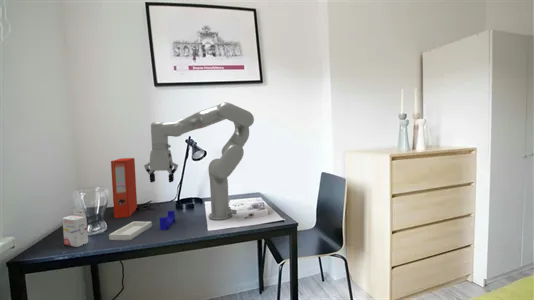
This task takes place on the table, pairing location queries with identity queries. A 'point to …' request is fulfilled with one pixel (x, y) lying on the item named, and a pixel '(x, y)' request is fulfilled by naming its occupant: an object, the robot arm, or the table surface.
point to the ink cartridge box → (75, 228)
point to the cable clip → (167, 220)
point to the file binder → (124, 187)
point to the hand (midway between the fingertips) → (161, 181)
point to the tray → (130, 231)
